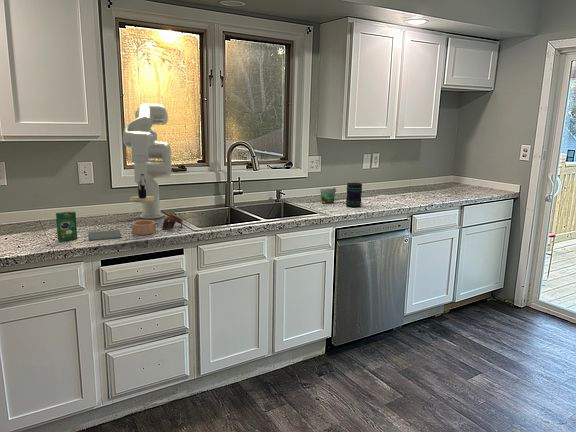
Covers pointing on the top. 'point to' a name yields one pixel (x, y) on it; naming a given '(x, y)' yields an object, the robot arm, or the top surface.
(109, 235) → the mat
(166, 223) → the pottery mug
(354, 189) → the storage jar
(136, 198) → the lid
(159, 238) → the top surface
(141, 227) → the bowl
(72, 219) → the coffee box
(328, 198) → the food container
